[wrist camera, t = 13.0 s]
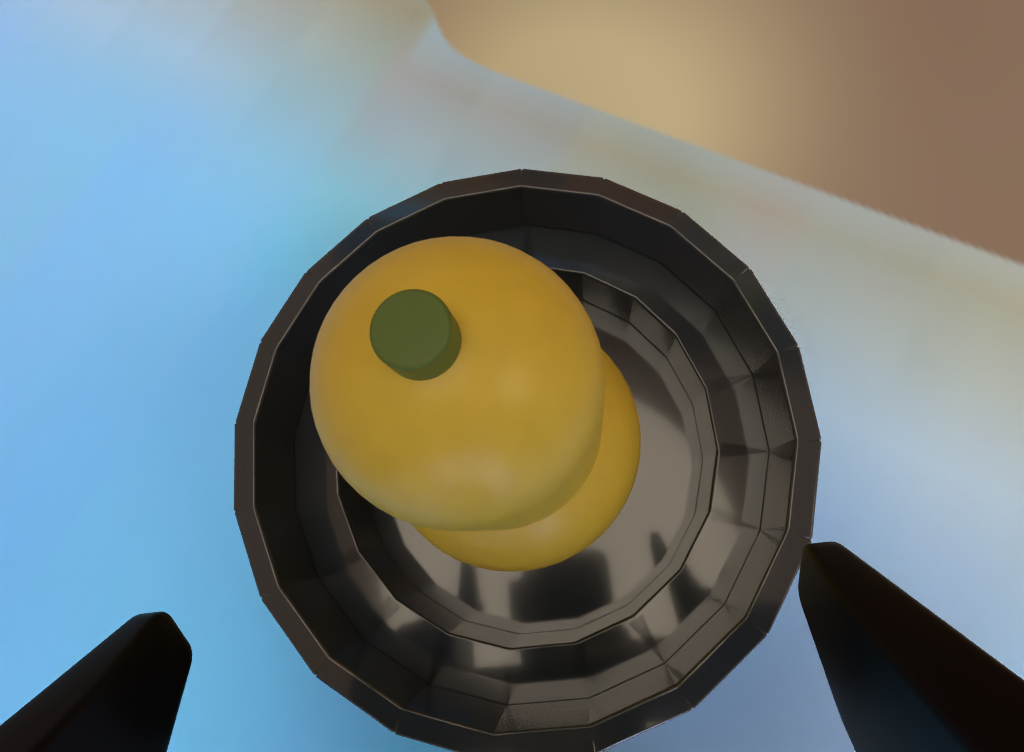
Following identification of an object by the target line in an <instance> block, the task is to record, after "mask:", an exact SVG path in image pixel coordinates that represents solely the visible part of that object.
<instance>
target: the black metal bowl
mask: <svg viewBox="0 0 1024 752" xmlns="http://www.w3.org/2000/svg"><path fill="white" fill-rule="evenodd" d="M448 236H455V237H475V238H483V239H489V240H493V241H496V242H500V243H504V244H507V245H509V246H511V247H514V248H516V249H519V250H521V251H523V252H525V253H526V254H528V255H530V256H532V257H533V258H535V259H537V260H539V261H540V262H542V263H543V264H544V265H546V266H547V267H548V268H550V269H551V270H552V271H554V272H555V273H556V274H557V275H558V276H559V277H560V278H561V279H562V280H563V281H564V282H565V283H566V284H567V285H568V286H569V288H570V289H571V290H572V292H573V293H574V294H575V296H576V297H577V298H578V300H579V301H580V302H581V304H582V305H583V307H584V308H585V310H586V312H587V314H588V316H589V317H590V319H591V321H592V324H593V326H594V329H595V331H596V334H597V336H598V339H599V342H600V346H601V349H602V350H603V351H604V352H605V353H606V354H607V355H608V356H609V357H610V358H611V359H612V361H613V362H614V363H615V365H616V366H617V367H618V369H619V370H620V371H621V373H622V375H623V377H624V379H625V380H626V382H627V384H628V386H629V388H630V391H631V393H632V396H633V398H634V401H635V404H636V408H637V412H638V417H639V424H640V433H641V446H640V459H639V465H638V472H637V475H636V478H635V482H634V485H633V488H632V490H631V493H630V495H629V497H628V499H627V501H626V504H625V505H624V507H623V508H622V510H621V512H620V513H619V515H618V516H617V518H616V519H615V521H614V522H613V523H612V524H611V525H610V527H609V528H608V529H607V530H606V531H605V532H604V533H603V534H602V535H601V536H600V537H599V538H598V539H597V540H596V541H595V542H593V543H592V544H591V545H590V546H588V547H587V548H585V549H584V550H582V551H581V552H579V553H578V554H576V555H574V556H572V557H570V558H568V559H566V560H564V561H562V562H560V563H557V564H554V565H551V566H548V567H545V568H540V569H535V570H529V571H514V572H506V571H494V570H488V569H483V568H479V567H475V566H471V565H469V564H466V563H464V562H461V561H458V560H456V559H454V558H453V557H451V556H449V555H447V554H445V553H444V552H442V551H440V550H439V549H438V548H436V547H435V546H434V545H432V544H431V543H430V542H428V541H427V540H426V539H425V538H424V537H423V536H422V535H421V534H420V533H419V532H418V531H417V530H416V529H415V528H414V527H413V525H412V524H411V523H408V522H405V521H403V520H400V519H397V518H395V517H393V516H391V515H389V514H388V513H386V512H384V511H382V510H380V509H379V508H377V507H376V506H374V505H373V504H372V503H370V502H369V501H368V500H366V499H365V498H364V497H362V496H361V495H360V494H359V493H358V492H357V491H356V490H355V489H354V488H353V487H352V486H351V485H350V484H349V483H348V482H347V481H346V480H345V479H344V478H343V477H342V475H341V474H340V473H339V471H338V470H337V469H336V467H335V466H334V465H333V463H332V461H331V459H330V457H329V456H328V454H327V452H326V450H325V448H324V446H323V444H322V442H321V439H320V436H319V434H318V431H317V429H316V426H315V422H314V418H313V414H312V409H311V401H310V391H309V390H310V367H311V360H312V354H313V349H314V346H315V342H316V339H317V335H318V333H319V330H320V328H321V325H322V323H323V321H324V318H325V317H326V315H327V313H328V311H329V310H330V308H331V306H332V304H333V303H334V301H335V300H336V299H337V297H338V296H339V295H340V293H341V292H342V291H343V289H344V288H345V287H346V286H347V285H348V284H349V283H350V282H351V281H352V280H353V279H354V278H355V277H356V276H357V275H358V274H359V273H360V272H362V271H363V270H364V269H365V268H366V267H368V266H369V265H370V264H372V263H373V262H375V261H376V260H378V259H379V258H381V257H382V256H384V255H386V254H388V253H390V252H392V251H394V250H396V249H398V248H400V247H403V246H406V245H409V244H411V243H414V242H418V241H422V240H427V239H431V238H439V237H448ZM748 269H749V267H748V266H747V265H746V264H744V263H743V262H742V261H741V260H740V259H739V258H737V257H736V256H735V255H734V254H733V253H731V252H730V251H729V250H728V249H727V248H725V247H724V246H723V245H722V244H721V243H720V242H718V241H717V240H716V239H715V238H714V237H712V236H711V235H710V234H709V233H708V232H707V231H705V230H704V229H703V228H702V227H701V226H699V225H698V224H697V223H696V222H695V221H693V220H692V219H691V218H690V217H689V216H688V215H686V214H685V213H682V212H681V211H680V210H678V209H676V208H674V207H671V206H669V205H667V204H664V203H662V202H659V201H657V200H655V199H652V198H650V197H648V196H645V195H643V194H641V193H638V192H636V191H633V190H631V189H629V188H626V187H624V186H622V185H619V184H617V183H615V182H612V181H610V180H608V179H603V178H600V177H591V176H582V175H573V174H564V173H555V172H546V171H537V170H528V169H523V170H521V169H518V170H512V171H506V172H500V173H494V174H489V175H483V176H477V177H471V178H465V179H460V180H454V181H448V182H443V183H442V184H438V185H436V186H433V187H431V188H429V189H427V190H425V191H423V192H421V193H419V194H417V195H415V196H413V197H410V198H408V199H406V200H404V201H402V202H400V203H398V204H396V205H394V206H392V207H389V208H387V209H385V210H383V211H381V212H379V213H377V214H375V215H373V216H371V217H369V219H366V220H365V221H364V222H362V223H361V224H360V225H359V226H358V227H357V228H356V229H354V230H353V231H352V232H351V233H350V234H349V235H348V236H346V237H345V238H344V239H343V240H342V241H341V242H340V243H338V244H337V245H336V246H335V247H334V248H333V249H332V250H330V251H329V252H328V253H327V254H326V255H325V256H324V257H322V258H321V259H320V260H319V261H318V262H317V263H316V264H314V265H313V266H312V267H311V268H310V269H309V270H308V271H307V273H305V274H304V275H303V277H302V278H301V280H300V281H299V283H298V284H297V286H296V287H295V289H294V291H293V292H292V294H291V295H290V297H289V298H288V300H287V301H286V303H285V304H284V306H283V307H282V309H281V310H280V312H279V313H278V315H277V317H276V318H275V320H274V321H273V323H272V324H271V326H270V327H269V329H268V330H267V332H266V333H265V335H264V336H263V338H262V340H261V342H262V343H260V344H259V348H258V351H257V354H256V357H255V361H254V364H253V367H252V370H251V374H250V377H249V380H248V383H247V387H246V390H245V393H244V396H243V400H242V403H241V406H240V409H239V413H238V416H237V419H236V424H235V458H234V511H236V512H235V515H236V518H237V522H238V525H239V528H240V532H241V535H242V538H243V542H244V545H245V548H246V552H247V555H248V558H249V562H250V565H251V568H252V572H253V575H254V578H255V582H256V585H257V588H258V591H259V595H260V597H263V598H262V601H263V603H264V604H265V605H266V607H267V608H268V610H269V611H270V613H271V614H272V615H273V617H274V618H275V620H276V621H277V623H278V624H279V625H280V627H281V628H282V630H283V631H284V633H285V634H286V635H287V637H288V638H289V640H290V641H291V643H292V644H293V645H294V647H295V648H296V650H297V651H298V653H299V654H300V655H301V657H302V658H303V660H304V661H305V663H306V664H307V665H308V667H309V668H310V670H311V671H312V673H313V674H315V675H316V674H317V675H316V677H317V678H318V679H320V680H321V681H323V682H324V683H325V684H327V685H328V686H329V687H331V688H332V689H334V690H335V691H336V692H338V693H339V694H341V695H342V696H343V697H345V698H346V699H347V700H349V701H350V702H352V703H353V704H354V705H356V706H357V707H359V708H360V709H361V710H363V711H364V712H365V713H367V714H368V715H370V716H371V717H372V718H374V719H375V720H376V721H378V722H379V723H381V724H382V725H383V726H385V727H386V728H388V729H389V730H390V731H392V732H395V734H396V735H400V736H403V737H407V738H410V739H414V740H417V741H421V742H424V743H427V744H431V745H434V746H438V747H441V748H445V749H448V750H452V751H455V752H602V751H604V750H606V749H609V748H611V747H613V746H615V745H617V744H620V743H622V742H624V741H626V740H628V739H630V738H633V737H635V736H637V735H639V734H641V733H643V732H646V731H648V730H650V729H652V728H654V727H656V726H659V725H661V724H663V723H665V722H667V721H669V720H672V719H674V718H676V717H678V716H680V715H683V714H685V713H687V712H689V711H690V710H691V709H692V708H695V707H696V706H697V705H698V704H699V703H700V702H701V701H702V700H703V699H704V698H705V697H706V696H707V695H708V694H709V693H710V692H711V691H712V690H713V689H714V688H715V687H716V686H717V685H718V684H719V683H720V682H721V681H722V680H723V679H724V678H725V677H726V676H727V675H728V674H729V673H730V672H731V671H732V670H733V669H734V668H735V667H736V666H737V665H738V664H739V663H740V662H741V661H742V660H743V659H744V658H745V657H746V656H747V655H748V654H749V653H750V652H751V651H752V650H753V649H754V648H755V647H756V646H757V645H758V644H759V643H760V642H761V641H762V640H763V639H764V638H765V637H766V635H767V634H768V633H769V632H770V630H771V628H772V625H773V623H774V621H775V619H776V617H777V615H778V613H779V610H780V608H781V606H782V604H783V602H784V600H785V598H786V595H787V593H788V591H789V589H790V587H791V585H792V583H793V580H794V578H795V576H796V574H797V572H798V570H799V568H800V564H801V554H802V550H803V548H804V546H805V545H807V544H811V540H810V539H811V538H812V534H813V524H814V513H815V503H816V492H817V482H818V472H819V461H820V451H821V441H820V439H821V436H820V432H819V428H818V424H817V419H816V415H815V411H814V407H813V403H812V399H811V395H810V390H809V386H808V382H807V378H806V374H805V370H804V365H803V361H802V357H801V353H800V349H799V347H797V346H798V345H797V343H796V341H795V339H794V338H793V336H792V335H791V333H790V331H789V330H788V328H787V327H786V325H785V323H784V322H783V320H782V319H781V317H780V315H779V314H778V312H777V311H776V309H775V307H774V306H773V304H772V303H771V301H770V299H769V298H768V296H767V295H766V293H765V291H764V290H763V288H762V287H761V285H760V283H759V282H758V280H757V279H756V277H755V275H754V274H753V272H752V271H751V270H750V269H749V270H748Z"/></svg>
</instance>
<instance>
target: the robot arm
mask: <svg viewBox="0 0 1024 752" xmlns="http://www.w3.org/2000/svg"><path fill="white" fill-rule="evenodd" d="M798 590H799V597H800V601H801V605H802V608H803V611H804V614H805V617H806V619H807V622H808V625H809V628H810V631H811V634H812V637H813V640H814V642H815V645H816V648H817V651H818V654H819V657H820V660H821V663H822V665H823V668H824V671H825V674H826V677H827V680H828V683H829V686H830V689H831V691H832V694H833V697H834V700H835V703H836V706H837V708H838V711H839V714H840V716H841V719H842V722H843V724H844V726H845V728H846V731H847V733H848V735H849V738H850V740H851V742H852V744H853V746H854V749H855V751H856V752H1024V680H1023V679H1021V678H1020V677H1019V676H1017V675H1016V674H1015V673H1013V672H1012V671H1011V670H1009V669H1008V668H1007V667H1005V666H1004V665H1002V664H1001V663H1000V662H998V661H997V660H996V659H994V658H993V657H992V656H990V655H989V654H988V653H986V652H985V651H984V650H982V649H981V648H980V647H978V646H977V645H976V644H974V643H973V642H972V641H970V640H969V639H968V638H966V637H965V636H964V635H962V634H961V633H960V632H958V631H957V630H955V629H954V628H953V627H951V626H950V625H949V624H947V623H946V622H945V621H943V620H942V619H941V618H939V617H938V616H937V615H935V614H934V613H933V612H931V611H930V610H929V609H927V608H926V607H925V606H923V605H922V604H921V603H919V602H918V601H917V600H915V599H914V598H912V597H911V596H910V595H908V594H907V593H906V592H904V591H903V590H902V589H900V588H899V587H898V586H896V585H895V584H894V583H892V582H891V581H890V580H888V579H887V578H886V577H884V576H883V575H882V574H880V573H879V572H878V571H876V570H875V569H874V568H872V567H871V566H870V565H868V564H867V563H865V562H864V561H863V560H861V559H860V558H859V557H857V556H856V555H855V554H853V553H852V552H851V551H849V550H848V549H847V548H845V547H844V546H843V545H841V544H839V543H836V542H823V543H813V544H807V545H805V546H804V548H803V550H802V554H801V564H800V574H799V584H798ZM191 662H192V649H191V646H190V644H189V642H188V641H187V639H186V638H185V636H184V635H183V633H182V632H181V631H180V629H179V628H178V626H177V625H176V623H175V622H174V620H173V619H172V617H171V616H170V615H169V614H167V613H165V612H153V613H144V614H139V615H136V616H134V617H132V618H131V619H130V620H128V621H127V622H126V623H125V624H124V625H122V626H121V627H120V628H119V629H118V630H116V631H115V632H114V633H113V634H111V635H110V636H109V637H108V638H107V639H105V640H104V641H103V642H102V643H100V644H99V645H98V646H97V647H96V648H94V649H93V650H92V651H91V652H90V653H88V654H87V655H86V656H85V657H83V658H82V659H81V660H80V661H79V662H77V663H76V664H75V665H74V666H72V667H71V668H70V669H69V670H68V671H66V672H65V673H64V674H63V675H61V676H60V677H59V678H58V679H57V680H55V681H54V682H53V683H52V684H50V685H49V686H48V687H47V688H46V689H44V690H43V691H42V692H41V693H40V694H38V695H37V696H36V697H35V698H33V699H32V700H31V701H30V702H29V703H27V704H26V705H25V706H24V707H22V708H21V709H20V710H19V711H18V712H16V713H15V714H14V715H13V716H11V717H10V718H9V719H8V720H7V721H5V722H4V723H3V724H2V725H1V726H0V752H167V749H168V745H169V741H170V738H171V734H172V731H173V727H174V724H175V720H176V716H177V713H178V709H179V706H180V702H181V698H182V695H183V691H184V688H185V684H186V681H187V677H188V673H189V670H190V666H191Z"/></svg>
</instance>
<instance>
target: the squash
mask: <svg viewBox="0 0 1024 752" xmlns="http://www.w3.org/2000/svg"><path fill="white" fill-rule="evenodd" d="M309 391H310V401H311V409H312V414H313V418H314V422H315V426H316V429H317V431H318V434H319V436H320V439H321V442H322V444H323V446H324V448H325V450H326V452H327V454H328V456H329V457H330V459H331V461H332V463H333V465H334V466H335V467H336V469H337V470H338V471H339V473H340V474H341V475H342V477H343V478H344V479H345V480H346V481H347V482H348V483H349V484H350V485H351V486H352V487H353V488H354V489H355V490H356V491H357V492H358V493H359V494H360V495H361V496H362V497H364V498H365V499H366V500H368V501H369V502H370V503H372V504H373V505H374V506H376V507H377V508H379V509H380V510H382V511H384V512H386V513H388V514H389V515H391V516H393V517H395V518H397V519H400V520H403V521H405V522H408V523H411V524H412V525H413V527H414V528H415V529H416V530H417V531H418V532H419V533H420V534H421V535H422V536H423V537H424V538H425V539H426V540H427V541H428V542H430V543H431V544H432V545H434V546H435V547H436V548H438V549H439V550H440V551H442V552H444V553H445V554H447V555H449V556H451V557H453V558H454V559H456V560H458V561H461V562H464V563H466V564H469V565H471V566H475V567H479V568H483V569H488V570H494V571H506V572H514V571H529V570H535V569H540V568H545V567H548V566H551V565H554V564H557V563H560V562H562V561H564V560H566V559H568V558H570V557H572V556H574V555H576V554H578V553H579V552H581V551H582V550H584V549H585V548H587V547H588V546H590V545H591V544H592V543H593V542H595V541H596V540H597V539H598V538H599V537H600V536H601V535H602V534H603V533H604V532H605V531H606V530H607V529H608V528H609V527H610V525H611V524H612V523H613V522H614V521H615V519H616V518H617V516H618V515H619V513H620V512H621V510H622V508H623V507H624V505H625V504H626V501H627V499H628V497H629V495H630V493H631V490H632V488H633V485H634V482H635V478H636V475H637V472H638V465H639V459H640V446H641V433H640V424H639V417H638V412H637V408H636V404H635V401H634V398H633V396H632V393H631V391H630V388H629V386H628V384H627V382H626V380H625V379H624V377H623V375H622V373H621V371H620V370H619V369H618V367H617V366H616V365H615V363H614V362H613V361H612V359H611V358H610V357H609V356H608V355H607V354H606V353H605V352H604V351H603V350H602V349H601V346H600V342H599V339H598V336H597V334H596V331H595V329H594V326H593V324H592V321H591V319H590V317H589V316H588V314H587V312H586V310H585V308H584V307H583V305H582V304H581V302H580V301H579V300H578V298H577V297H576V296H575V294H574V293H573V292H572V290H571V289H570V288H569V286H568V285H567V284H566V283H565V282H564V281H563V280H562V279H561V278H560V277H559V276H558V275H557V274H556V273H555V272H554V271H552V270H551V269H550V268H548V267H547V266H546V265H544V264H543V263H542V262H540V261H539V260H537V259H535V258H533V257H532V256H530V255H528V254H526V253H525V252H523V251H521V250H519V249H516V248H514V247H511V246H509V245H507V244H504V243H500V242H496V241H493V240H489V239H483V238H475V237H455V236H448V237H439V238H431V239H427V240H422V241H418V242H414V243H411V244H409V245H406V246H403V247H400V248H398V249H396V250H394V251H392V252H390V253H388V254H386V255H384V256H382V257H381V258H379V259H378V260H376V261H375V262H373V263H372V264H370V265H369V266H368V267H366V268H365V269H364V270H363V271H362V272H360V273H359V274H358V275H357V276H356V277H355V278H354V279H353V280H352V281H351V282H350V283H349V284H348V285H347V286H346V287H345V288H344V289H343V291H342V292H341V293H340V295H339V296H338V297H337V299H336V300H335V301H334V303H333V304H332V306H331V308H330V310H329V311H328V313H327V315H326V317H325V318H324V321H323V323H322V325H321V328H320V330H319V333H318V335H317V339H316V342H315V346H314V349H313V354H312V360H311V367H310V390H309Z"/></svg>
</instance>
